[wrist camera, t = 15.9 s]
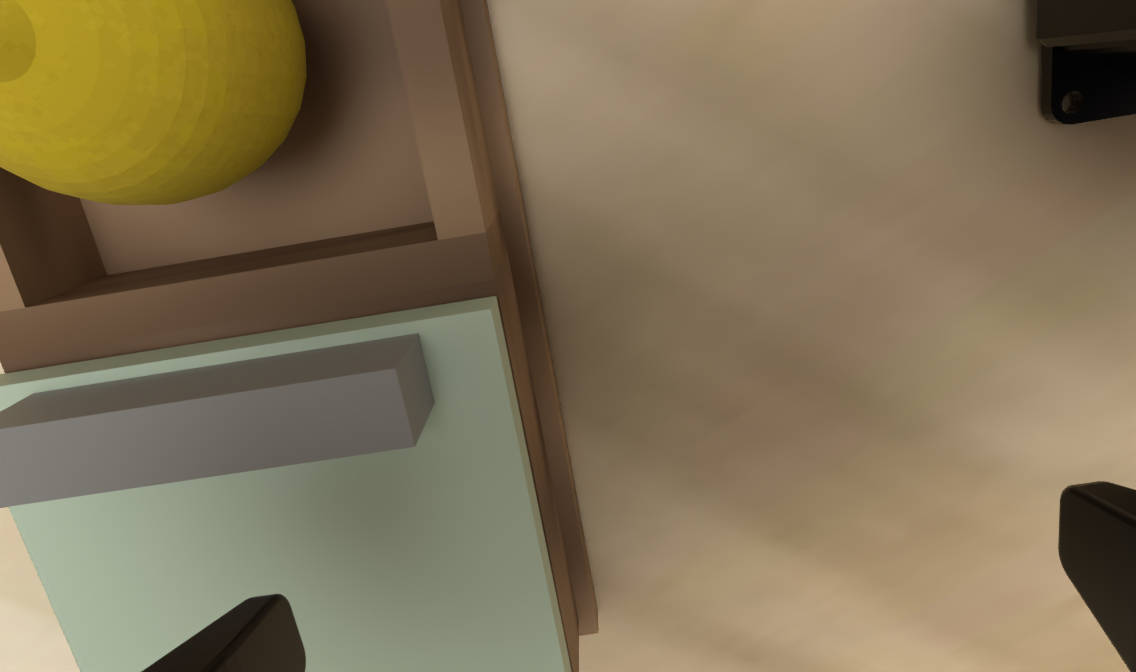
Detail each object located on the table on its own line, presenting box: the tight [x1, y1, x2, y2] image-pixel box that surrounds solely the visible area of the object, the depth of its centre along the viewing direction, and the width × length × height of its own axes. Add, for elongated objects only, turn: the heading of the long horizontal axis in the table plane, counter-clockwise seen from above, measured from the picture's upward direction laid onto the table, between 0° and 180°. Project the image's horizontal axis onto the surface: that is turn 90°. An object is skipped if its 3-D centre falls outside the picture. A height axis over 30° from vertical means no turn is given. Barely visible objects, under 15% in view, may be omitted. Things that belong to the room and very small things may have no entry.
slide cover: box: [0, 296, 571, 672], centre depth 16 cm, size 11×11×3 cm
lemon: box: [0, 0, 307, 205], centre depth 14 cm, size 6×6×8 cm
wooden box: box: [0, 0, 598, 672], centre depth 18 cm, size 23×12×4 cm, turn 9°
